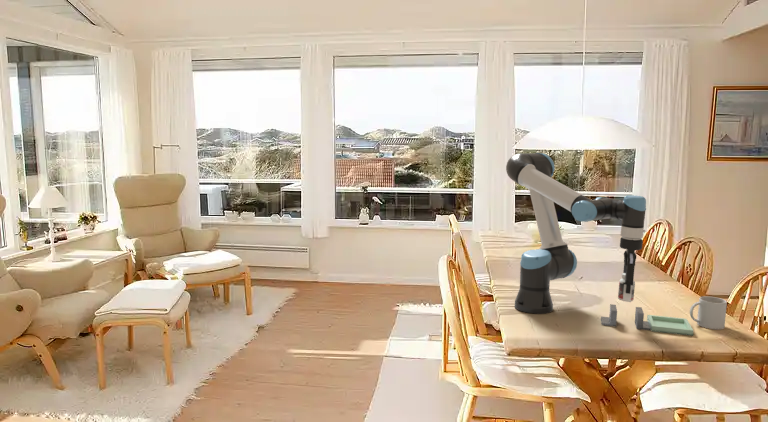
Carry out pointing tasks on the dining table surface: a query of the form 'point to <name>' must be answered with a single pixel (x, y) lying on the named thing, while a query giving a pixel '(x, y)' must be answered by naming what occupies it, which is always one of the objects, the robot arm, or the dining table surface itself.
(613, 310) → the bookends
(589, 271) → the dining table surface
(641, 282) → the dining table surface
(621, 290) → the pill bottle
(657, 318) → the tray
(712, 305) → the mug
